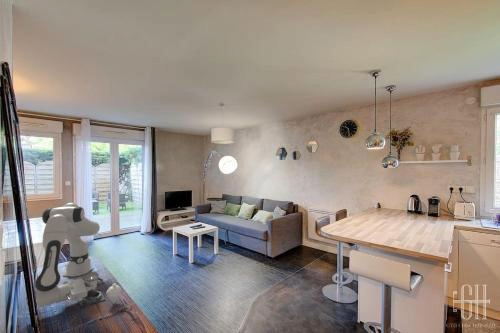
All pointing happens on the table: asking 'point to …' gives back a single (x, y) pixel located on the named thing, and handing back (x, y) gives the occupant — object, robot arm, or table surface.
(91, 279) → the lidded canister
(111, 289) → the spinning top
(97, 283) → the ceramic mug
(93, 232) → the robot arm
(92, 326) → the table surface
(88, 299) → the duct flange
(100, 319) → the table surface
